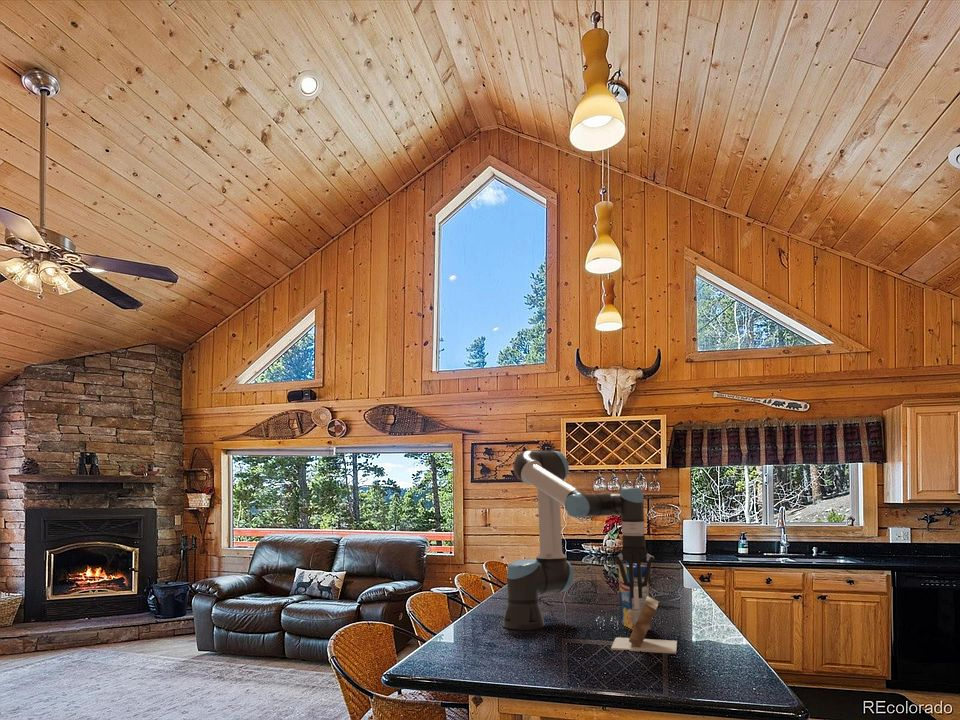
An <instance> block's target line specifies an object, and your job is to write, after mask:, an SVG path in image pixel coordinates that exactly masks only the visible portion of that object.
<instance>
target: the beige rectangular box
mask: <svg viewBox="0 0 960 720" xmlns="http://www.w3.org/2000/svg"><path fill="white" fill-rule="evenodd" d="M659 602H660V601H658V600H657V599H655V598H653V597H650V595H649V596H647V598H646V600H645V602H644V605H643V607H642V610H641V612H640V614H639V617H638V619H637V622H636V624H635V626H634V629H633V631H632V630H631V631H632V632H631V633H630V637H629V638H630V639H629V642H631V643H632V644H634V645H636V646H638V647H641V645H642V642H643V640H644V639H646V638H645V637H646V635H647V633H648V631H649V630H648V628H649V626H650V627H651V624H652V623H651V622H652V621H653V618H654V616H655V613H656V611H657V609H658V606H659Z"/></svg>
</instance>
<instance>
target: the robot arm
mask: <svg viewBox="0 0 960 720" xmlns="http://www.w3.org/2000/svg"><path fill="white" fill-rule="evenodd" d="M568 462H569V461H568V460H567V458H566V456H565V455H564V454H563V453H562V452H560V451H557V450H524V451H522V452H520V453H519V454H518V455H517V456H516V458H515V459H514V461H513V466H512V468H513V472H514V474H515V477H516V478H517V479H518V480H520V481H521V482H522V483H524V484H526V485H532V486H533V487H535V489H537V508H538V510H537V511H538V529H539V531H538V532H539V533H538V535H539V536H538V537H539V553H538V554H537V555H536V557H535V559H533V558H525V559H518V560H515V561H512V562H510V563H509V564H508V566H507V570H506V571H507V572H506V578H507V579H506V582H507V583H506V584H507V586H506V587H507V588H506V589H507V605H506V609H505V611H504V612H505V613H504V616H503V620H502V625H503V627H504V628H506V629H510V630H516V631H517V630H518V631H532V630H537V629H538V630H540V629H543V627H545V619H544V616H543V613H542V610H541V607H540V600H539V599H540V598H539V596H540V595H546V594H547V595H549V594H559V593H562V592H566V591H567V590H569V589H570V587H571V585H572V583H573V581H574V569H573V567H572V564H571V563H570V562H569V561H568V560H567V555H566V554H564V553H563V544H562V543H563V542H562V540H563V539H562V537H563V536H562V519H561V515H562V514H561V505H563V506H564V508H565V511H566V513H567V514H568V515H569V516H570V517H572V518H585V517H586V518H587V517H604V516H605V517H606V516H607V517H608V516H615V517H616V516H619V517H620V518H621V519H620V520H621V521H620V522H621V533H622V534H623V535H622V536H621V538H622V539H621V540H622V541H621V542H622V549H621V551H620V552H621V553H619V554H618V555H615V557H614V559H615V561H616V562H617V563H618V568H619V567H620V571H621V575H622V578H623V582H624V585H625V586H628V587H630V597H631V598H634V609H639V608H640V606H639V598H642V587H645V586H647V584H649V577H650V571H651V568H652V563H653V561H654V560H655V556H654V555H651V554H650V553H648V550H647V548H646V536H645V535H644V534H646V527H645V526H646V525H645V510H644V509H645V508H644V507H645V506H644V505H645V503H644V501H645V500H644V493H643V489H642V488H641V487H621V488H620V490H619V491H620V492H619V493H613V492H611V493H610V492H603V493H585V492H583V490H580V489H579V488H577V487H575V486H574V485H572V484H571V483H569V482H567V481H566V479H567V477H568V475H569V472H570V470H569V469H570V467H569V463H568ZM624 559H625V560H626V562H627V563H629V580H630V582H628V579H627V576H626V572H625V568H624V565H623V564H624V562H623V560H624ZM645 559H646V561H647V563H646V566H647V567H646V572H645V578H644V582H643V583H642V574H641V565H642V563H643V561H644V560H645ZM633 563H636V564H637V580H638V587H634V572H633Z"/></svg>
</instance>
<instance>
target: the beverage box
mask: <svg viewBox="0 0 960 720" xmlns="http://www.w3.org/2000/svg"><path fill="white" fill-rule="evenodd" d="M623 565H624V568H625V572H626V576H627V579H628V582H630V580H629V563H628V562H627V563H625V562H623ZM646 567H647V565H644V564H641V574H642V583H643V582H644V578H645V572H646ZM633 572H634V587H638V580H637V564H636V563H633ZM618 582H619V583H618V585H619V610H620V612H619V613H620V625H621V624H622V625H624V626H626V627H628V628H630V629H632V630H633V629H634V626H635V624H636V622H637V619H638V617H639V614H640V612H641V610H642V607H643V605H644V602H645V600H646V598H647V596H649V597H650V591H649V588H650V587H649V583H648V584H647V586H645V587H642V598H639V606H640V608H639V609H634V598H631V597H630V587H628V586H625V585H624V582H623V578H622V575H621V571H620V567H619V566H618ZM622 625H621V626H622ZM624 626H623V627H624ZM626 627H625V628H626ZM628 628H627V629H628ZM630 629H629V630H630ZM632 630H631V631H632ZM647 631H651V625H650V626H649V628H648V630H647Z"/></svg>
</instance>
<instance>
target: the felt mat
mask: <svg viewBox="0 0 960 720" xmlns="http://www.w3.org/2000/svg"><path fill="white" fill-rule="evenodd" d="M629 639H630V637H615V639H614V641H613V643H612V645H611V646H610V649H611V650H612V651H624V650H629V651H628V652H640V651H641V652H643V653H659V654H675V655H677V648H678V647H677V646H678V640H673V639H672V640H670V639H668V640H667V639H654V638H653V639H651V638H644V640H643V642H642V645H641V647H638V646H636V645H634V644H632V643H631V642H629Z"/></svg>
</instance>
